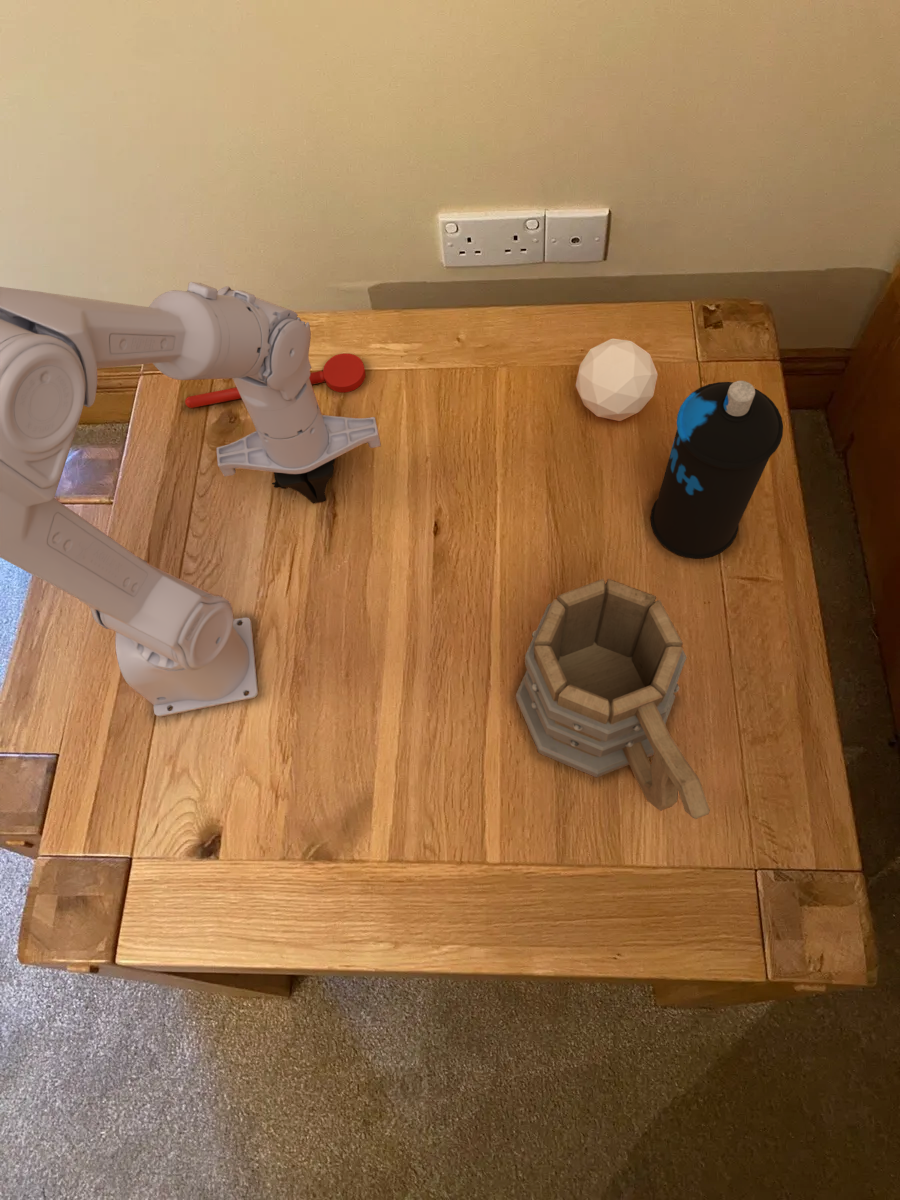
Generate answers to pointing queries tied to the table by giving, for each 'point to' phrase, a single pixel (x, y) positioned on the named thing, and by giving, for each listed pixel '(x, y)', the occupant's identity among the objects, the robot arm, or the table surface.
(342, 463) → the table surface
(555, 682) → the tankard
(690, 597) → the table surface
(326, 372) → the spoon
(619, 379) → the geometric ball
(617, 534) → the table surface
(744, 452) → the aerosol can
